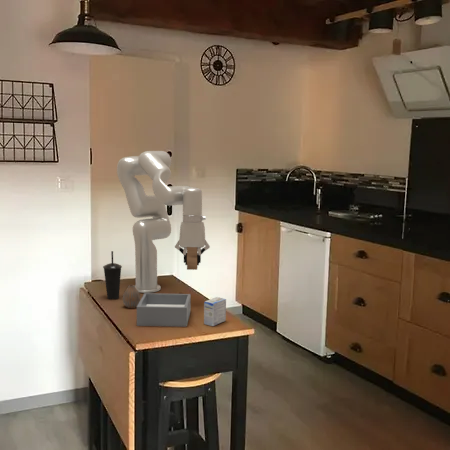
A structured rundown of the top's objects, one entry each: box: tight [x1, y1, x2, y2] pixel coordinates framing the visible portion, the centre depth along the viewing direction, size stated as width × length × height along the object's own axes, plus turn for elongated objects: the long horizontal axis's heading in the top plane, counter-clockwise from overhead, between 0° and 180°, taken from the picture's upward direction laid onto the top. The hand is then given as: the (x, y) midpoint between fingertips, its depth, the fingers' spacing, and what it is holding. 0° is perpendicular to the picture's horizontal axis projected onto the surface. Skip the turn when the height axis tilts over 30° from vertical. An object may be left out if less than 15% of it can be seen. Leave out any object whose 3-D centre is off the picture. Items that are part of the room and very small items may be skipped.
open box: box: [136, 292, 192, 328], centre depth 212 cm, size 18×18×7 cm
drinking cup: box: [102, 251, 123, 300], centre depth 237 cm, size 8×8×20 cm
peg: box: [186, 247, 198, 271], centre depth 225 cm, size 4×4×10 cm
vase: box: [122, 284, 141, 309], centre depth 225 cm, size 7×7×9 cm
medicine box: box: [203, 296, 227, 327], centre depth 207 cm, size 8×4×9 cm, turn 145°
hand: (192, 264), depth 225 cm, fingers closed on peg, 4 cm apart
